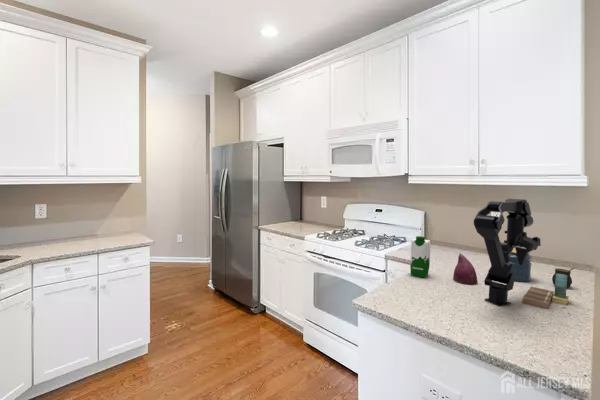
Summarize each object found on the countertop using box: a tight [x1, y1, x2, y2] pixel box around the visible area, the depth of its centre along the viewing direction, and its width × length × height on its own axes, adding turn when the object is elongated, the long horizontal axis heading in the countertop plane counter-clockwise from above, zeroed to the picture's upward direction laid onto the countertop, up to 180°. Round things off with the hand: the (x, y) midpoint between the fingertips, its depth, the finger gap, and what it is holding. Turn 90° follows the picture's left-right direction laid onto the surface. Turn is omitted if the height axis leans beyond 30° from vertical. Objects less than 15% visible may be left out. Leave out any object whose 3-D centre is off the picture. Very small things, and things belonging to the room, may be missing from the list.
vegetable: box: [452, 252, 478, 286], centre depth 151 cm, size 10×10×15 cm
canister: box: [509, 248, 533, 283], centre depth 157 cm, size 13×13×18 cm
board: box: [522, 286, 555, 310], centre depth 129 cm, size 20×8×2 cm, turn 136°
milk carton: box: [409, 235, 431, 279], centre depth 158 cm, size 9×9×20 cm
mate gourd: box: [551, 267, 575, 289], centre depth 146 cm, size 7×8×10 cm
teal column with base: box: [551, 274, 569, 306], centre depth 127 cm, size 7×5×11 cm, turn 136°
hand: (513, 266), depth 131 cm, fingers open, 9 cm apart
